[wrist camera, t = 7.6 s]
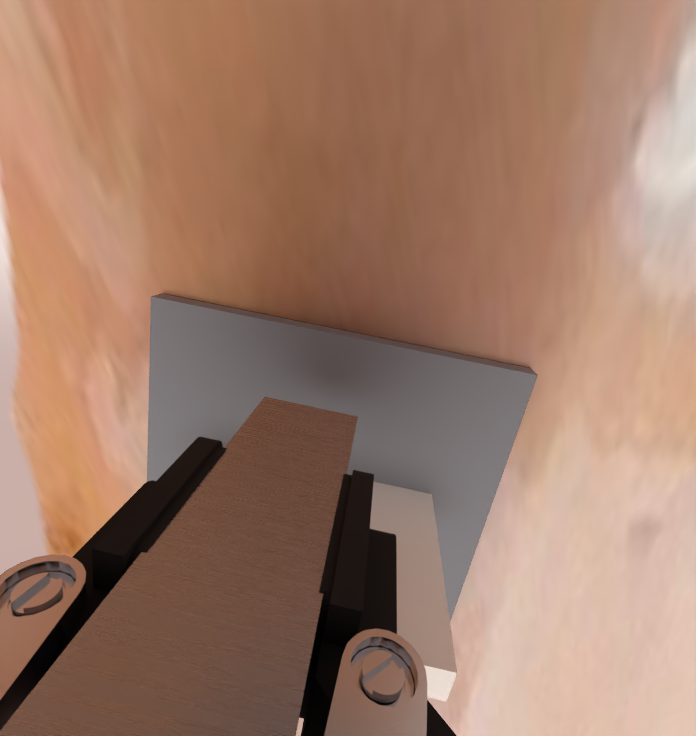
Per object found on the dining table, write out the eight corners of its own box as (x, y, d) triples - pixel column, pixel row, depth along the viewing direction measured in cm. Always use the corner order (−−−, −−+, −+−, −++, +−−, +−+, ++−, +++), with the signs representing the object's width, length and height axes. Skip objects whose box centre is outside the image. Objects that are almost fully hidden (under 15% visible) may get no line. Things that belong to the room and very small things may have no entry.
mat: (162, 293, 20) (151, 296, 19) (530, 368, 20) (537, 375, 19) (151, 642, 28) (143, 657, 27) (413, 705, 27) (414, 722, 26)
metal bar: (264, 396, 13) (-586, 1469, 2) (357, 416, 13) (103, 1717, 2) (254, 477, 14) (-335, 1507, 3) (341, 496, 14) (108, 1658, 3)
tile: (203, 444, 22) (79, 584, 13) (431, 494, 21) (457, 673, 13) (201, 470, 22) (81, 621, 14) (424, 519, 22) (443, 708, 13)
